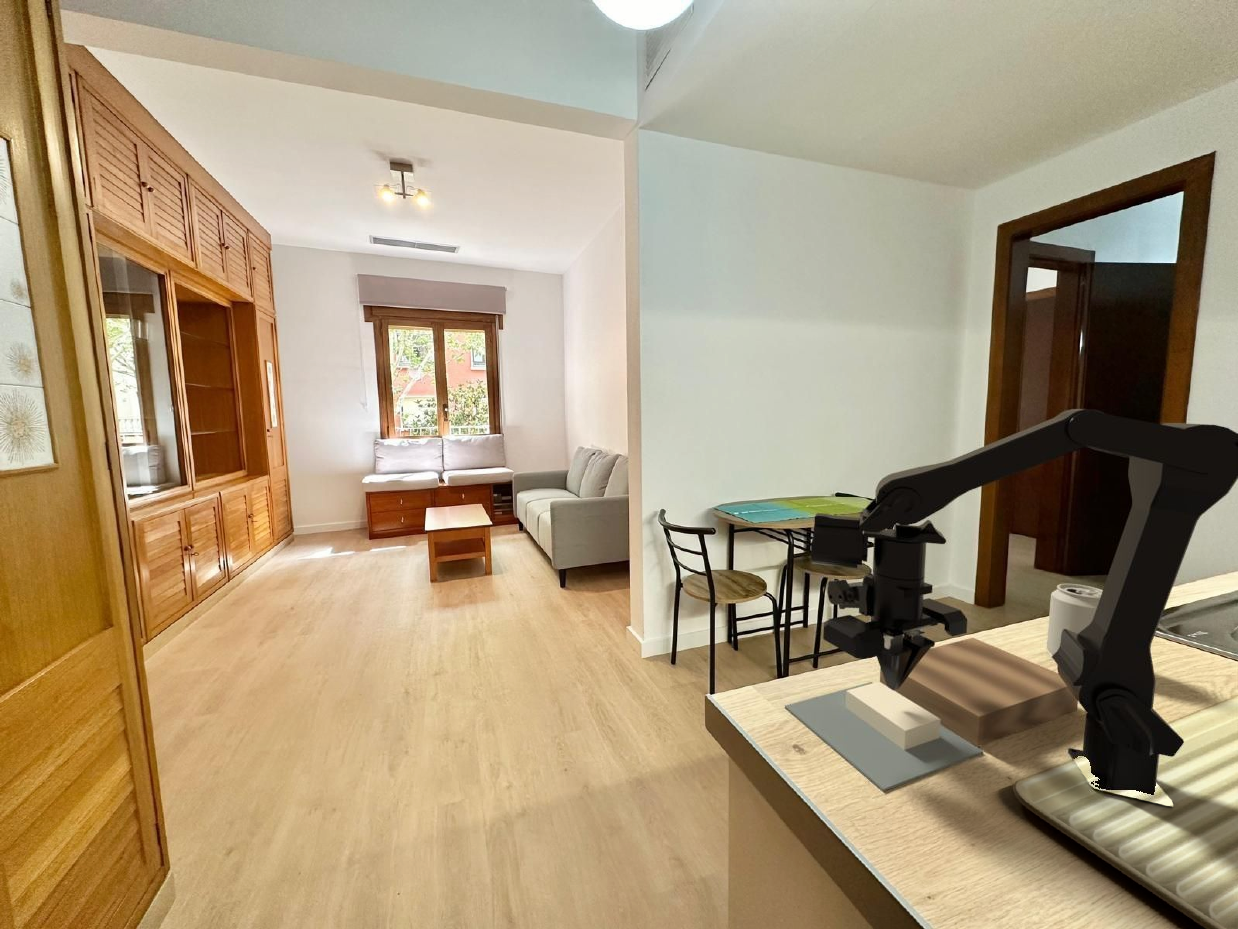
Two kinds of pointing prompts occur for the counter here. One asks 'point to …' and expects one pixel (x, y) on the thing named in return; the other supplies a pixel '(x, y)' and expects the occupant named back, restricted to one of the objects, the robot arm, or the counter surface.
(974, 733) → the block
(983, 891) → the counter surface
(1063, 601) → the can
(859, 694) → the tile
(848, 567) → the robot arm
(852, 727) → the mat
